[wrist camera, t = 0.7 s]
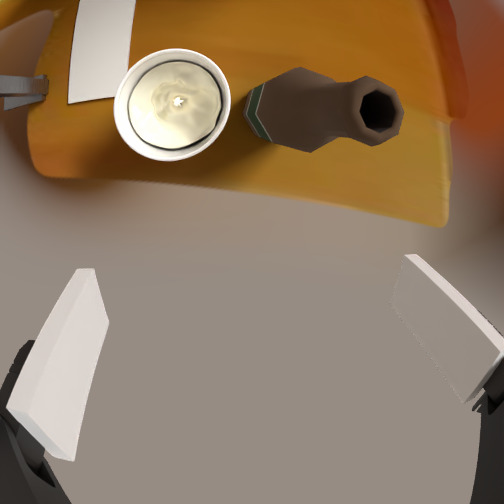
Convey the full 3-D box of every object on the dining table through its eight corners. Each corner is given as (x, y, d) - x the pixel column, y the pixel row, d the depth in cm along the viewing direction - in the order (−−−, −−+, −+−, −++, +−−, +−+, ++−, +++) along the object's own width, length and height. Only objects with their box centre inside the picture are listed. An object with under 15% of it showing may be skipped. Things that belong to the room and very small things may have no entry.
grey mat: (96, -54, 17) (95, -55, 16) (150, -64, 18) (150, -66, 17) (69, 103, 28) (68, 103, 28) (126, 95, 29) (125, 95, 29)
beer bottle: (245, 144, 35) (312, 196, 13) (236, 84, 31) (294, 32, 10) (305, 137, 35) (435, 181, 14) (298, 79, 32) (428, 48, 10)
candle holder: (234, 82, 31) (247, 67, 20) (207, 155, 35) (208, 174, 24) (157, 62, 28) (135, 38, 17) (132, 136, 32) (100, 147, 21)
